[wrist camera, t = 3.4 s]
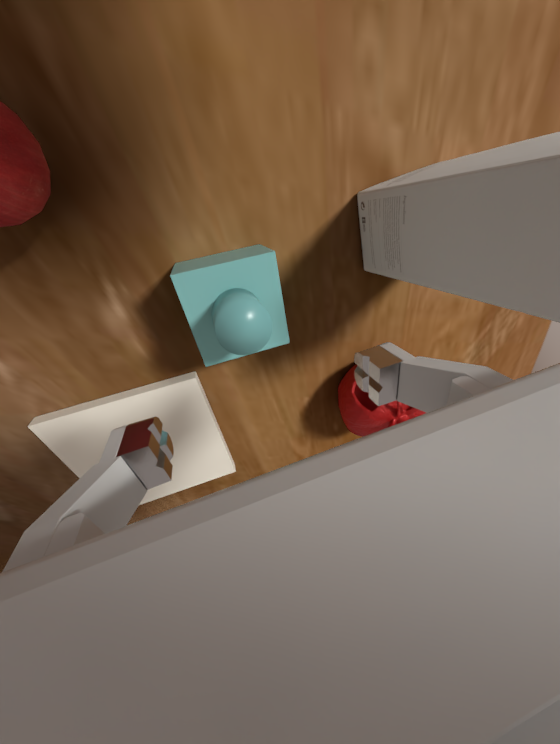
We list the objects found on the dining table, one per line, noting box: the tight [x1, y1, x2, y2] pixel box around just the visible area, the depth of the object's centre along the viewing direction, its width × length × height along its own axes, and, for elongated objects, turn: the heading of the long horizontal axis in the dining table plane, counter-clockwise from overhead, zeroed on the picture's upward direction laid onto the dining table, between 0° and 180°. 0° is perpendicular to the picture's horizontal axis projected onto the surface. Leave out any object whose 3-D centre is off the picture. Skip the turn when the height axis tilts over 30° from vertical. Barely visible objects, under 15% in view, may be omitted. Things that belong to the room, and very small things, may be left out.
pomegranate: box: [338, 365, 426, 437], centre depth 27 cm, size 10×10×9 cm
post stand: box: [27, 371, 236, 505], centre depth 25 cm, size 14×14×5 cm
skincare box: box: [357, 132, 560, 322], centre depth 16 cm, size 8×7×16 cm
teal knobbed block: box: [170, 244, 290, 367], centre depth 18 cm, size 7×7×8 cm
